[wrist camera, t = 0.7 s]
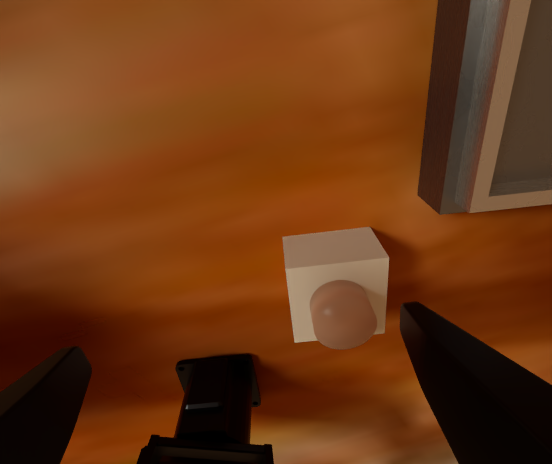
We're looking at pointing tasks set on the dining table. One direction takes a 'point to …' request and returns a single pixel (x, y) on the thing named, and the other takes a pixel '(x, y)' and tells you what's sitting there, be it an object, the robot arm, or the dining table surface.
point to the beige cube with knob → (336, 286)
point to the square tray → (489, 107)
